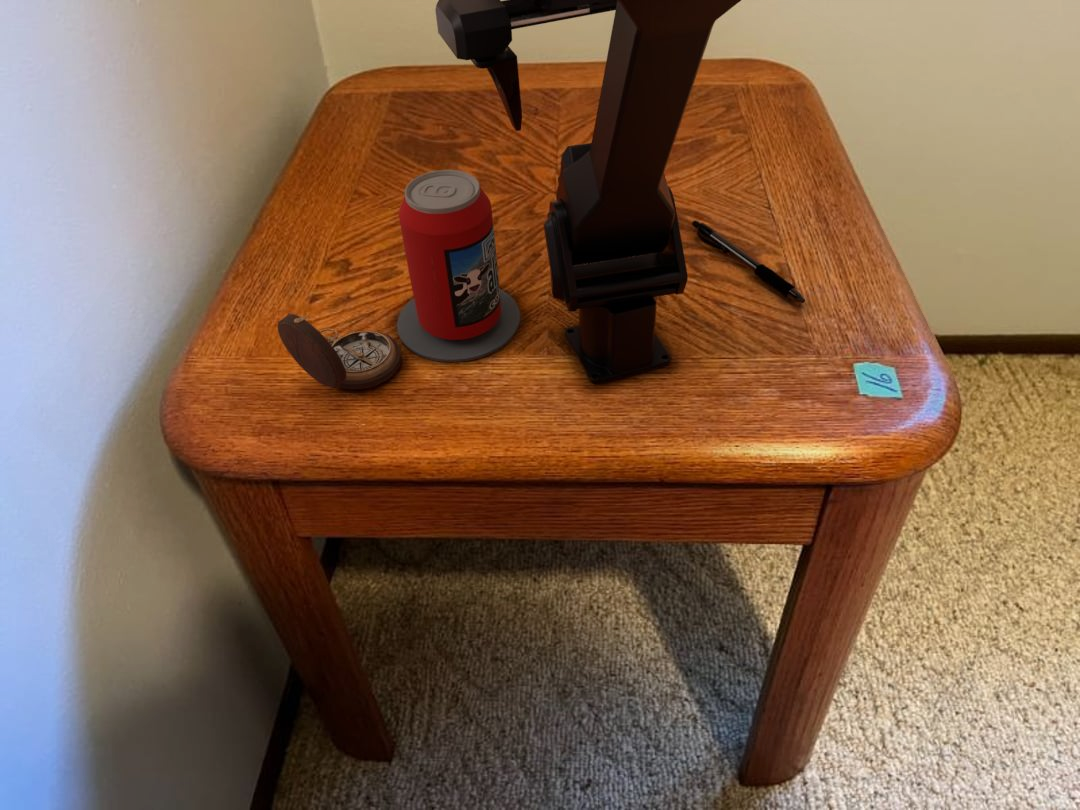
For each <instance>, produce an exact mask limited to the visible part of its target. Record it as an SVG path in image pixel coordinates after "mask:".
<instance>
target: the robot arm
mask: <svg viewBox="0 0 1080 810" xmlns="http://www.w3.org/2000/svg"><path fill="white" fill-rule="evenodd" d="M741 1H742V0H437V3H436V4H435V18H436V19H435V20H436V26H437V33H438V35H439V36H440V38H441V39H442V40H443V42H445V44H446V46H447V47H448V48H449V49H450V51H451V53H452V54H453V55H454V56H455V58H456V59H457V60H464V61H471V63H472V64H473V65H474V66H475V68H477V69H482V70H483V69H486V70H487V71H488V74H489V75H490V77H491V79H492V81H493V84H494V86H495V89H496V90H497V93H498V95H499V98H500V100H501V102H502V105H503V107H504V109H505V112H506V114H507V117H508V119H509V121H510V123H511V126H512V127H513V129H514V131H516V132H519V131H522V123H523V110H522V97H521V96H522V95H521V86H520V75H519V64H518V63H519V62H518V55H517V54H516V53H515V52H514V50H513V49H512V48H511V47H510V44H511V43H512V42H513V32H512V31H513V30H516V29H522V28H527V27H534V26H537V25H543V24H548V23H553V22H558V21H564V20H569V19H570V20H571V19H575V18H581V17H586V16H592V15H597V14H602V13H606V12H607V13H608V12H612V11H615V12H614V15H613V22H612V23H613V24H612V27H611V33H610V39H609V45H608V50H607V55H606V61H605V66H604V72H603V77H602V84H601V88H600V95H599V100H598V105H597V110H596V116H595V122H594V128H593V132H592V136H591V137H592V138H591V142H588V143H582V144H581V143H580V144H574V145H568V146H567V147H566V148H565V149H564V151H563V152H562V154H561V158H560V171H559V175H558V177H557V183H558V184H557V189H556V197H555V198H556V199H555V200H552V201H550V202H549V206H548V207H549V209H548V212H547V214H546V217H547V219H546V220H545V222H544V223H543V232H544V237H545V244H546V251H547V257H548V265H549V272H550V282H551V283H550V286H551V295H552V297H553V299H556V300H559V301H561V302H562V303H564V304H565V305H566V308H567V311H568V312H569V313H571V312H576V311H577V310H578V325H573V326H570V327H566V328H565V329H564V331H563V333H564V338H565V340H566V342H567V343H568V345H569V347H570V348H571V351H572V352H573V354H574V356H575V357H576V359H577V361H578V363H579V365H580V366H581V368H582V370H583V372H584V374H585V375H586V377H587V378H588V380H589V382H590V383H591V384H593V385H600V384H603V383H607V382H611V381H614V380H619V379H622V378H626V377H629V376H633V375H637V374H641V373H645V372H648V371H652V370H655V369H659V368H663V367H666V366H669V365H670V364H671V363H672V356H671V354H670V352H669V351H668V350H667V348H666V347H665V345H664V344H663V343H662V341H661V340H660V338H659V337H658V336H657V334H656V319H657V304H658V303H657V302H658V297H661V296H662V297H663V296H669V295H670V296H671V295H674V294H675V295H676V296H678V295H683V294H684V293H685V291H686V290H685V289H686V286H687V283H688V280H689V278H688V277H689V276H688V275H689V274H688V270H687V265H686V264H687V263H686V257H685V252H684V247H683V241H682V235H681V230H680V223H679V219H678V213H677V206H676V202H675V197H674V194H673V191H672V189H671V187H670V186H669V185H668V181H667V178H666V174H665V171H666V168H667V165H668V161H669V159H670V156H671V152H672V149H673V147H674V143H675V141H676V139H677V135H678V133H679V129H680V126H681V123H682V120H683V117H684V114H685V111H686V108H687V105H688V102H689V99H690V96H691V94H692V90H693V87H694V84H695V82H696V78H697V76H698V72H699V69H700V66H701V63H702V60H703V57H704V54H705V51H706V48H707V45H708V42H709V39H710V37H711V33H712V30H713V28H714V27H713V26H714V25H715V22H717V20H718V19H720V18H721V17H722V16H723V15H725V14H726V13H727V12H729V11H730V10H731V9H733V7H735V6H737V5H738V4H739V3H740V2H741Z"/></svg>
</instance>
